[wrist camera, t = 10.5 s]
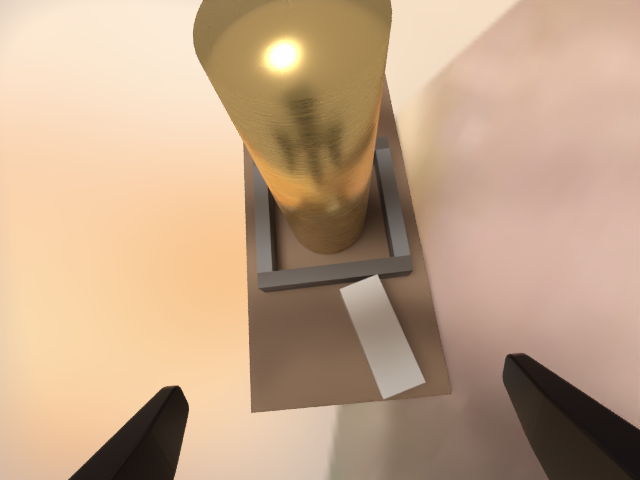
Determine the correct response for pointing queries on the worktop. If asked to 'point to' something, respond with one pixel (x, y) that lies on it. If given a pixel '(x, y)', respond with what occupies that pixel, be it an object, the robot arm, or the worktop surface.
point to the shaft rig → (341, 299)
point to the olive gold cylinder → (303, 102)
